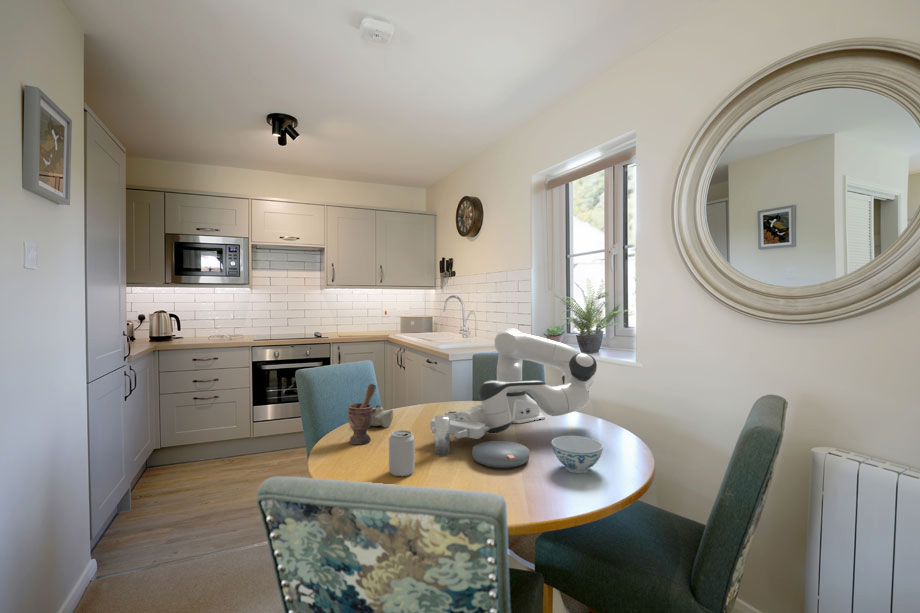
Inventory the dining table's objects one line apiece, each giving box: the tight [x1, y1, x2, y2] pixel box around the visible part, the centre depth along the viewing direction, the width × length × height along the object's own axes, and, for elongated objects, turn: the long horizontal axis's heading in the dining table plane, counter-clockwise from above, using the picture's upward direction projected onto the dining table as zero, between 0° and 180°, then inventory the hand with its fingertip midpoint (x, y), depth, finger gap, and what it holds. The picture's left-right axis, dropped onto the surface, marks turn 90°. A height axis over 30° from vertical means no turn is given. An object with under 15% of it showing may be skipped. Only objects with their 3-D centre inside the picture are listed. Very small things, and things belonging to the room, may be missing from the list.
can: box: [388, 429, 416, 478], centre depth 126 cm, size 8×8×12 cm
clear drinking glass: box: [434, 414, 451, 457], centre depth 142 cm, size 5×5×12 cm
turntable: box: [472, 440, 530, 468], centre depth 136 cm, size 18×18×3 cm
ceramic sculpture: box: [370, 405, 394, 428], centre depth 174 cm, size 11×9×15 cm
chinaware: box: [551, 435, 604, 474], centre depth 129 cm, size 15×15×8 cm
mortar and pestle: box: [347, 383, 377, 445], centre depth 156 cm, size 12×9×20 cm
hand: (444, 433), depth 143 cm, fingers open, 8 cm apart
